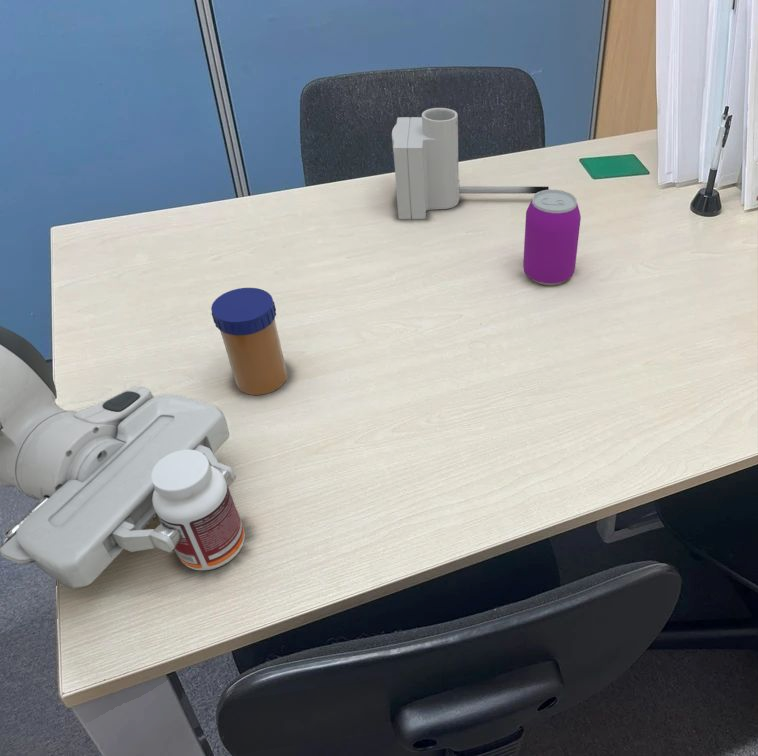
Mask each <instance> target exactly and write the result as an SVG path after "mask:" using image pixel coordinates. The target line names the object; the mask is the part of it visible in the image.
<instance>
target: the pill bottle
mask: <svg viewBox="0 0 758 756" xmlns="http://www.w3.org/2000/svg"><path fill="white" fill-rule="evenodd" d="M151 480H152V483H153V486H154V488H155V490H154V493H153V498H152V502H153V506H154V509H155V511H156V513H157V514H156V516H157V517H158V519H159V522H160V523H161V522H162V523H164V524H166V525H168V527H175V528H176V529H178V530H179V532H180V536H182V540H181V541H180V542H179V543H178V545H177V546H176V547H175V548H174V549H173V551H174V552H175V554H176V556H177V558H178V559H179V560H180V561H181V563H182V564H183V565H184V566H186V567H187V568H189V569H192V570H195V571H208V570H215V569H217V568H219V567H222V566H224V565H226V564H228V563H229V562H231V560H232V561H233V559H234V558H235V557H236V556H237V555H238V554H239V552H240V551H241V549H242V548H243V546H244V543H245V539H246V538H245V537H246V536H245V535H246V533H245V529H244V525H243V523H242V520H241V517H240V515H239V512H238V509H237V507H236V504H235V501H234V499H233V496H232V494H231V491H230V488H229V487H228V485H227V483H226V480H225V478H224V476H223V475H222V473H221V472H220V471H219V470H218V469H216V468H214V467H212V466H210V463H209V461H208V459H207V457H206V456H205V455H204V454H202V453H201V452H199V451H196V450H180V451H176V452H173V453H171V454H169V455H167V456H165V457H164V458H162V459H161V460H160V461H159V462H158V463H157V464H156V465H155V466H154V468H153V470H152V473H151Z"/></svg>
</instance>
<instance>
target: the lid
mask: <svg viewBox="0 0 758 756" xmlns="http://www.w3.org/2000/svg"><path fill="white" fill-rule="evenodd" d="M210 311H211V316H212V320H213V323H214V325H215V327H216V328H217V329H218V330H219V332H220V331H222V332H224V333H227V334H230V335H248V334H252V333H256V332H259V331H261V330H263V329H265V328H266V327H268V326H269V325H270V324H271V323H272V322H273V321H274V320H275V321H276V316H277V309H276V305H275V301H274V299H273V296H272V295H271V293H269V292H268V291H267V290H264V289H261V288H259V287H258V288H257V287H240V288H236V289H235V288H234V289H231V290H229V291H226V292H224V293H222V294H221V295H219V296H218V297H217V298H215V299H214V301H212V304H211V308H210Z"/></svg>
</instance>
